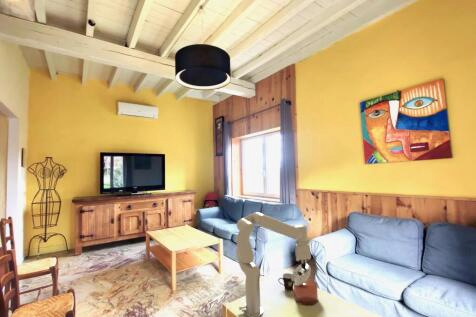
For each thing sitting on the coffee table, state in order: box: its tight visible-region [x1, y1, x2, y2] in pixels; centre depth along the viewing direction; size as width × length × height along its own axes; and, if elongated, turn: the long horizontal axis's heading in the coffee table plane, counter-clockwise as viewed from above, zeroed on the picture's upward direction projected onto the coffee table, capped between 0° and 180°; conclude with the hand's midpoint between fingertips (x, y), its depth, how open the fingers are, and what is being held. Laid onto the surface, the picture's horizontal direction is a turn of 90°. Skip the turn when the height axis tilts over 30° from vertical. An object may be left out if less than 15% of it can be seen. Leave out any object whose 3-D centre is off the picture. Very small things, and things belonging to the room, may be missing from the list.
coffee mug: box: [278, 272, 294, 292], centre depth 186 cm, size 12×9×10 cm
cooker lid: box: [291, 263, 312, 286], centre depth 170 cm, size 17×17×3 cm
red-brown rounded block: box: [293, 278, 319, 306], centre depth 170 cm, size 16×16×11 cm
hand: (303, 268), depth 171 cm, fingers closed
